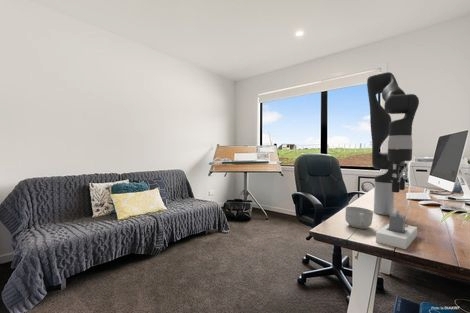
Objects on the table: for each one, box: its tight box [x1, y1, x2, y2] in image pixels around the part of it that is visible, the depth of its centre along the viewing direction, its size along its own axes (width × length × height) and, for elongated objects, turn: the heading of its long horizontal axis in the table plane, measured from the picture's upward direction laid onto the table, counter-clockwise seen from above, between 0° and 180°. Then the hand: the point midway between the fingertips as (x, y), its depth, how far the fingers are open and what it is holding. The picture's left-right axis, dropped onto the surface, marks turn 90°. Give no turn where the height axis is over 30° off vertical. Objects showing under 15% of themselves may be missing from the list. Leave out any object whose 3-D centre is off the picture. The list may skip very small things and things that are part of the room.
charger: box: [388, 209, 406, 234], centre depth 89 cm, size 4×4×11 cm
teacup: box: [344, 206, 374, 230], centre depth 103 cm, size 14×11×8 cm
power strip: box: [375, 223, 418, 250], centre depth 90 cm, size 20×9×4 cm, turn 133°
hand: (398, 191), depth 89 cm, fingers open, 8 cm apart
